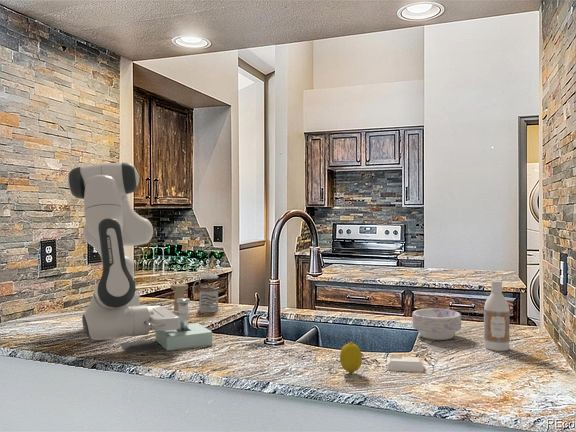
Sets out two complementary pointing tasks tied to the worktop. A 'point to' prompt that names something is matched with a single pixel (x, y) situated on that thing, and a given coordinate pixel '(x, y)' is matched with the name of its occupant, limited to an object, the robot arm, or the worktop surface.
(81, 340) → the worktop surface
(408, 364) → the soap bar
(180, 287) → the handle
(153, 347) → the mat
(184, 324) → the pin
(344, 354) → the lemon
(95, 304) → the robot arm
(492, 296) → the bath foam
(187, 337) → the hole block
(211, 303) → the french press
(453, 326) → the marbled white bowl
